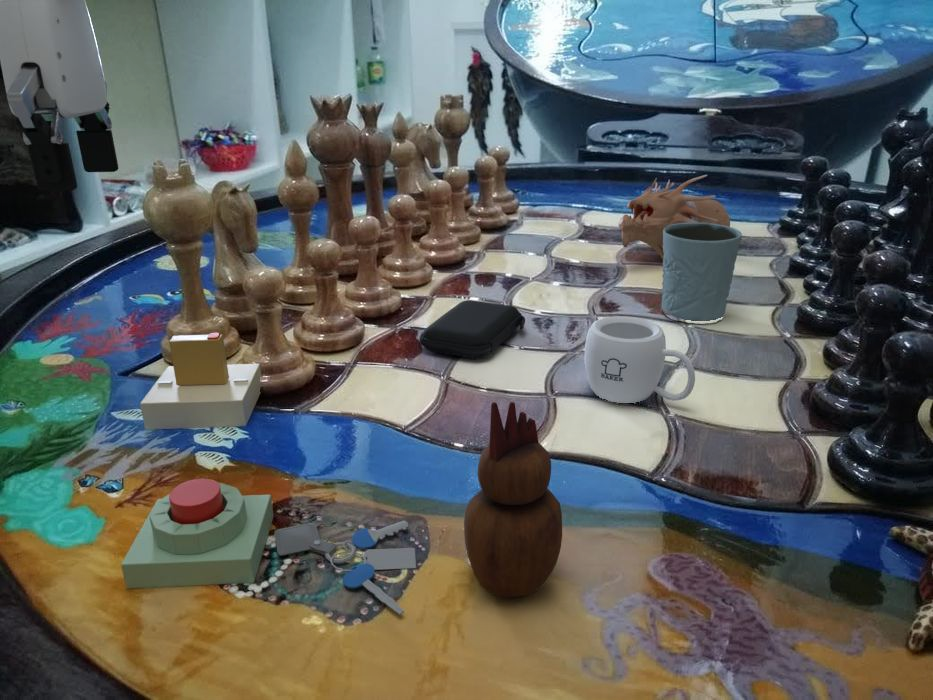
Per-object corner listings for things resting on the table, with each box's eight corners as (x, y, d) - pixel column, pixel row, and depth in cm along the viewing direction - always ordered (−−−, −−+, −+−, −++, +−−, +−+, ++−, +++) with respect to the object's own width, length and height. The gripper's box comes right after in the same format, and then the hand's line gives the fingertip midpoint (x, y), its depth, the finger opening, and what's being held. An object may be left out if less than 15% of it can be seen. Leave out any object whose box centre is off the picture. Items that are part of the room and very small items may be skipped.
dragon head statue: (737, 175, 130) (696, 167, 110) (738, 260, 132) (698, 268, 112) (664, 183, 138) (613, 177, 117) (666, 263, 140) (616, 271, 119)
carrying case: (493, 367, 87) (533, 326, 99) (493, 343, 86) (534, 304, 98) (413, 353, 91) (462, 315, 103) (413, 330, 90) (462, 294, 102)
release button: (166, 527, 53) (162, 507, 52) (180, 498, 56) (177, 479, 56) (216, 525, 53) (213, 505, 52) (228, 496, 56) (225, 477, 56)
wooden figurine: (478, 618, 49) (479, 423, 43) (455, 564, 54) (453, 382, 49) (571, 598, 51) (584, 407, 45) (540, 547, 56) (548, 370, 50)
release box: (126, 589, 52) (115, 543, 51) (161, 521, 60) (153, 479, 58) (254, 583, 53) (247, 538, 51) (273, 516, 60) (268, 475, 58)
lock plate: (144, 430, 73) (139, 402, 72) (172, 390, 82) (167, 364, 80) (246, 426, 74) (242, 398, 73) (263, 387, 82) (259, 361, 81)
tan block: (176, 385, 76) (168, 338, 74) (181, 379, 77) (173, 333, 75) (225, 384, 76) (218, 337, 74) (229, 377, 77) (222, 331, 75)
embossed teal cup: (733, 308, 106) (745, 226, 101) (724, 331, 97) (737, 243, 92) (662, 298, 109) (671, 219, 105) (648, 320, 101) (656, 235, 96)
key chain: (257, 547, 56) (256, 539, 56) (331, 496, 63) (331, 488, 62) (400, 621, 49) (399, 612, 49) (468, 555, 55) (467, 546, 55)
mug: (568, 399, 79) (572, 331, 76) (601, 371, 86) (605, 308, 83) (677, 428, 73) (686, 356, 70) (703, 396, 80) (712, 329, 77)
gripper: (41, -16, 70) (79, 166, 77) (-68, -31, 54) (-9, 199, 61) (121, -16, 71) (152, 165, 77) (36, -31, 55) (84, 198, 61)
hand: (81, 180), depth 69 cm, fingers open, 9 cm apart
